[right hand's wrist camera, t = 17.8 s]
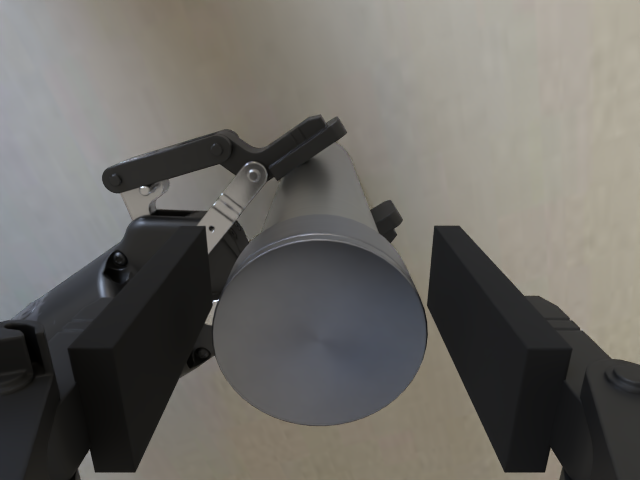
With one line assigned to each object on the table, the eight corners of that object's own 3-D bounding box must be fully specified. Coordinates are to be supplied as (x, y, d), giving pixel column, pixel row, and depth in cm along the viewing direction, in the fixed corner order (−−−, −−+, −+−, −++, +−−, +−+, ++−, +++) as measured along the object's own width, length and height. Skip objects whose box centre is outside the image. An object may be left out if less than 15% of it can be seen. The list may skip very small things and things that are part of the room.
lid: (326, 406, 13) (327, 458, 11) (190, 307, 12) (168, 348, 10) (450, 294, 12) (473, 332, 10) (311, 172, 11) (309, 191, 9)
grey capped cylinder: (272, 178, 28) (199, 338, 11) (313, 123, 27) (302, 207, 10) (325, 217, 29) (334, 421, 12) (367, 166, 28) (442, 310, 11)
